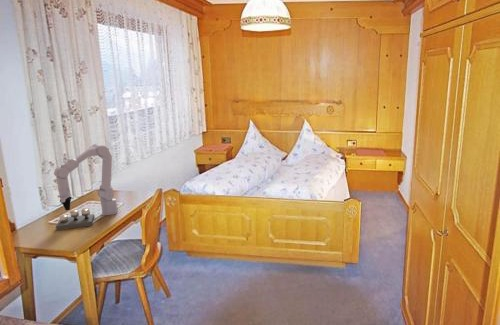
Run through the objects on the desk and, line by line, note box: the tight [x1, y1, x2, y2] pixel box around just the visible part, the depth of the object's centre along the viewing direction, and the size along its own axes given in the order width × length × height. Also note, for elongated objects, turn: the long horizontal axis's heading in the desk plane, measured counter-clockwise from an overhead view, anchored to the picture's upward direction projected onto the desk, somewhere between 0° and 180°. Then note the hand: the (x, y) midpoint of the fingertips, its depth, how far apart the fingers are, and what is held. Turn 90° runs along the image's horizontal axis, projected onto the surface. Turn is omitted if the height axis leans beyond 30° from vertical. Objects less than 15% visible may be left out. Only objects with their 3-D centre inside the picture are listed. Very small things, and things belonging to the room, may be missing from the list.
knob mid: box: [69, 209, 80, 221], centre depth 220 cm, size 4×4×6 cm
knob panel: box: [55, 213, 95, 231], centre depth 221 cm, size 19×12×2 cm, turn 105°
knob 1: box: [59, 214, 69, 222], centre depth 219 cm, size 4×4×6 cm
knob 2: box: [80, 207, 91, 219], centre depth 222 cm, size 4×4×6 cm
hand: (67, 209), depth 219 cm, fingers closed
